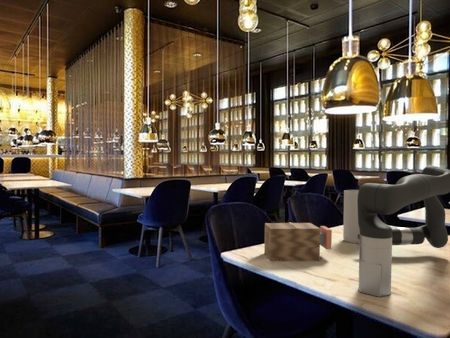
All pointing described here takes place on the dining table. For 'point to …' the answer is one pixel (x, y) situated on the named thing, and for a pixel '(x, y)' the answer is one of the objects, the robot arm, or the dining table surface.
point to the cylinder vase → (351, 217)
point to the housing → (292, 242)
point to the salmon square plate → (325, 237)
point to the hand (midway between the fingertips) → (358, 236)
